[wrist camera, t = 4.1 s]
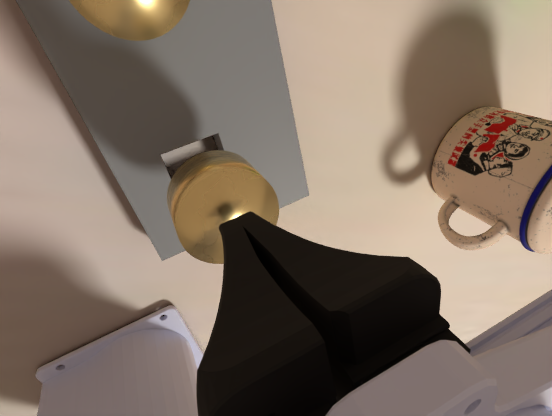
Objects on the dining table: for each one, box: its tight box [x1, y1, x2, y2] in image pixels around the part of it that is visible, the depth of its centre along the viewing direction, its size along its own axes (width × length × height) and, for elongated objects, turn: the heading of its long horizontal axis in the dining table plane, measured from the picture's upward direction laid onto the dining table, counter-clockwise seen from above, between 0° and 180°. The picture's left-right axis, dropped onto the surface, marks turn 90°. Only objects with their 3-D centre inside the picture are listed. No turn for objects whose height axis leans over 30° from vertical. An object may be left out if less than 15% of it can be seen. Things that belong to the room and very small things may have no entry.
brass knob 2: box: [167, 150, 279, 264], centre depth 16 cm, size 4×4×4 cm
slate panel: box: [16, 0, 309, 261], centre depth 16 cm, size 10×22×2 cm, turn 14°
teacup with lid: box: [431, 107, 552, 254], centre depth 26 cm, size 12×9×12 cm
